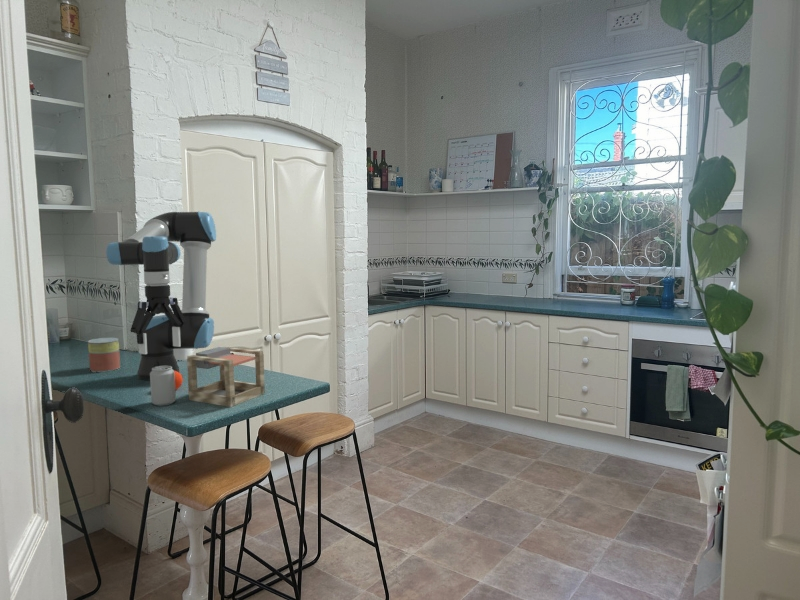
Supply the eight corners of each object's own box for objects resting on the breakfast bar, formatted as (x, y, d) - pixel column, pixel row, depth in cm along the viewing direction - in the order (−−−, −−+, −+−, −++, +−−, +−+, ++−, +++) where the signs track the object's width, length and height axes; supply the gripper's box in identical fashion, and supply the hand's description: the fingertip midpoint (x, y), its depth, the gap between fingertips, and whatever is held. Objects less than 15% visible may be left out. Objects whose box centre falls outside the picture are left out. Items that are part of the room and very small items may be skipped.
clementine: (159, 388, 211) (158, 369, 210) (179, 385, 215) (178, 366, 214) (165, 393, 205) (164, 373, 204) (185, 390, 209) (184, 370, 208)
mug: (177, 362, 252) (176, 340, 251) (166, 359, 258) (165, 338, 257) (202, 357, 261) (201, 336, 260) (192, 354, 267) (191, 334, 266)
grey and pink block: (194, 368, 197) (193, 353, 196) (221, 360, 209) (221, 346, 208) (231, 373, 190) (230, 358, 189) (257, 364, 202) (257, 350, 201)
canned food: (126, 367, 242) (124, 338, 241) (101, 373, 232) (99, 343, 231) (108, 364, 248) (106, 336, 246) (83, 370, 238) (81, 341, 236)
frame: (189, 399, 197) (186, 355, 195) (224, 387, 212) (223, 346, 210) (230, 407, 189) (228, 361, 187) (264, 393, 204) (263, 351, 203)
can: (175, 405, 191) (173, 369, 190) (150, 407, 189) (148, 370, 188) (176, 398, 198) (175, 363, 197) (152, 400, 196) (150, 365, 195)
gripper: (132, 288, 176) (136, 358, 179) (195, 282, 198) (197, 344, 201) (115, 287, 179) (119, 356, 182) (178, 281, 202) (181, 342, 204)
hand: (160, 350), depth 191 cm, fingers open, 13 cm apart
